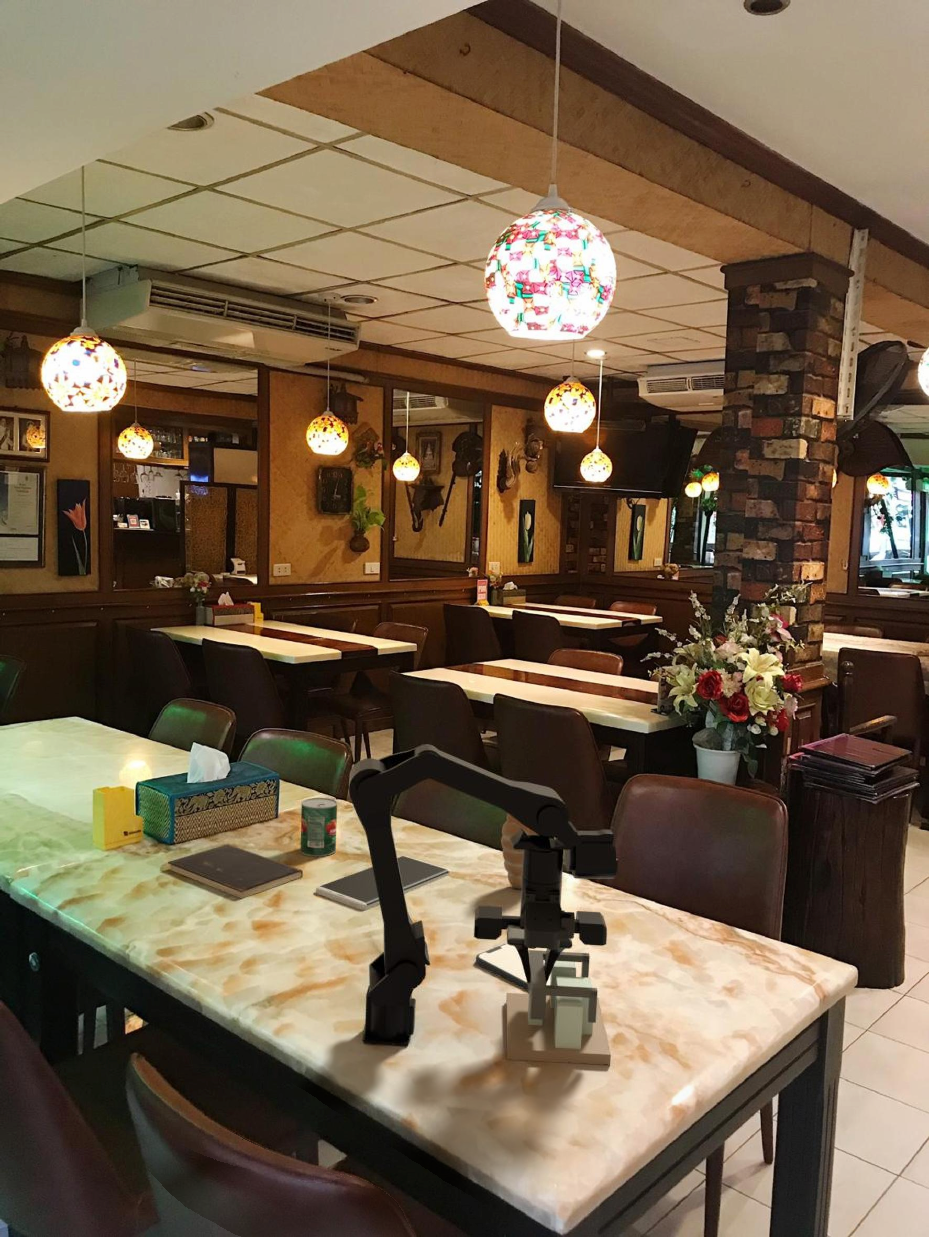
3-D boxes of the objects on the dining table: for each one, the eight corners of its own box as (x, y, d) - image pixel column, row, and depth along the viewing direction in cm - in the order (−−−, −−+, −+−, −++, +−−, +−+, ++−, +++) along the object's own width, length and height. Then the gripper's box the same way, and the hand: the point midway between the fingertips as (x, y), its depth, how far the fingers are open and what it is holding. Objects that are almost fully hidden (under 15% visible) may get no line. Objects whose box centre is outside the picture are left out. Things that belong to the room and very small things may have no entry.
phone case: (579, 986, 154) (508, 950, 166) (580, 976, 154) (508, 941, 166) (543, 1003, 148) (471, 964, 160) (544, 993, 148) (472, 955, 159)
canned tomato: (295, 847, 213) (297, 799, 212) (329, 843, 217) (331, 796, 216) (305, 858, 206) (306, 809, 205) (340, 854, 209) (342, 805, 208)
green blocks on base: (507, 1059, 131) (510, 1006, 130) (506, 1002, 146) (508, 955, 146) (610, 1065, 130) (613, 1012, 129) (597, 1007, 146) (600, 960, 145)
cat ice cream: (522, 899, 188) (526, 809, 187) (490, 888, 193) (494, 801, 191) (546, 886, 195) (550, 800, 194) (514, 877, 200) (518, 793, 198)
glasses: (530, 1018, 132) (532, 987, 131) (527, 978, 144) (529, 949, 143) (595, 1022, 132) (597, 991, 131) (587, 982, 144) (589, 953, 143)
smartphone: (451, 877, 201) (452, 869, 201) (363, 913, 179) (363, 904, 179) (403, 862, 209) (404, 854, 209) (313, 895, 187) (314, 886, 187)
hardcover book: (240, 902, 182) (241, 890, 182) (167, 872, 196) (167, 861, 196) (302, 879, 195) (303, 868, 195) (230, 853, 209) (230, 843, 209)
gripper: (475, 895, 129) (470, 1006, 130) (614, 902, 128) (608, 1013, 129) (477, 866, 140) (472, 969, 141) (605, 873, 139) (599, 976, 141)
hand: (536, 982), depth 138 cm, fingers closed on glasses, 2 cm apart
